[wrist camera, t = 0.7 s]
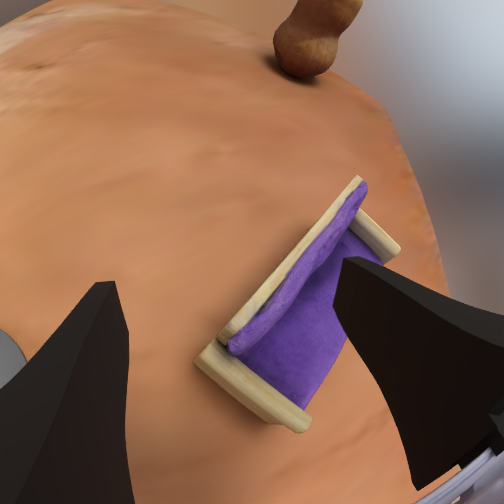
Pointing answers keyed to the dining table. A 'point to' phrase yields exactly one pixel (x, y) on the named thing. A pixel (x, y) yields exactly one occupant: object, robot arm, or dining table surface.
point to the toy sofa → (295, 317)
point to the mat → (9, 358)
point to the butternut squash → (313, 35)
